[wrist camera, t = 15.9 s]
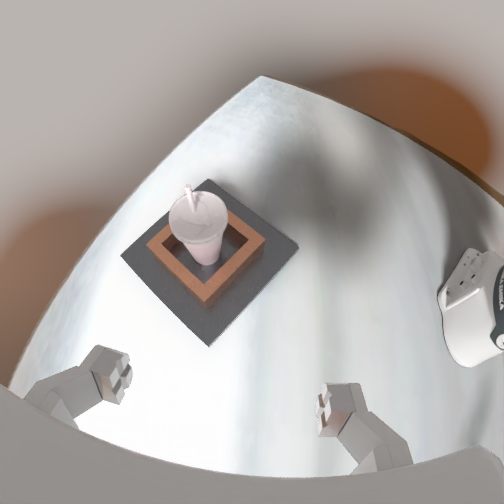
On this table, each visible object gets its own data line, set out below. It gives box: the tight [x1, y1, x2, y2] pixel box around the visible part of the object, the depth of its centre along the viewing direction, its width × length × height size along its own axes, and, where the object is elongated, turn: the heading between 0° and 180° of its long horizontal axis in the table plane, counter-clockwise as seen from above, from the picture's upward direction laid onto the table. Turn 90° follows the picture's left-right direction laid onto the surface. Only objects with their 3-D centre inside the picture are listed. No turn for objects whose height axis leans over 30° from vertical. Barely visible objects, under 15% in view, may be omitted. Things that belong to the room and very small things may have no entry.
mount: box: [120, 179, 299, 347], centre depth 37 cm, size 18×18×4 cm
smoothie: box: [169, 184, 228, 265], centre depth 31 cm, size 6×6×14 cm
